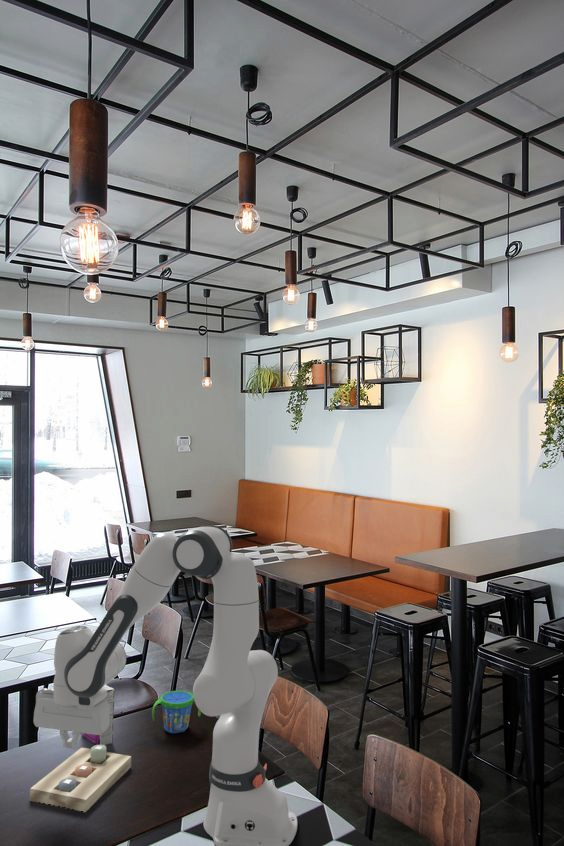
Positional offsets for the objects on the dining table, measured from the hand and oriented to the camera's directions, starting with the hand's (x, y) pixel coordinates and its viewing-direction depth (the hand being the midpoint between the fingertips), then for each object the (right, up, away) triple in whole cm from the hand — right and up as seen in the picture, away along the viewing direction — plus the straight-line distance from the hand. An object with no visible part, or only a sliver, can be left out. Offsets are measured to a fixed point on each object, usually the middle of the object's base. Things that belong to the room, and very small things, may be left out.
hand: (70, 747), depth 152 cm
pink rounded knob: (+1, -13, +6) cm, 14 cm away
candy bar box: (-3, -14, +30) cm, 34 cm away
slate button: (-1, -13, 0) cm, 13 cm away
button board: (+1, -13, +6) cm, 15 cm away
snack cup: (+20, -15, +39) cm, 46 cm away
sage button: (+3, -11, +13) cm, 18 cm away
